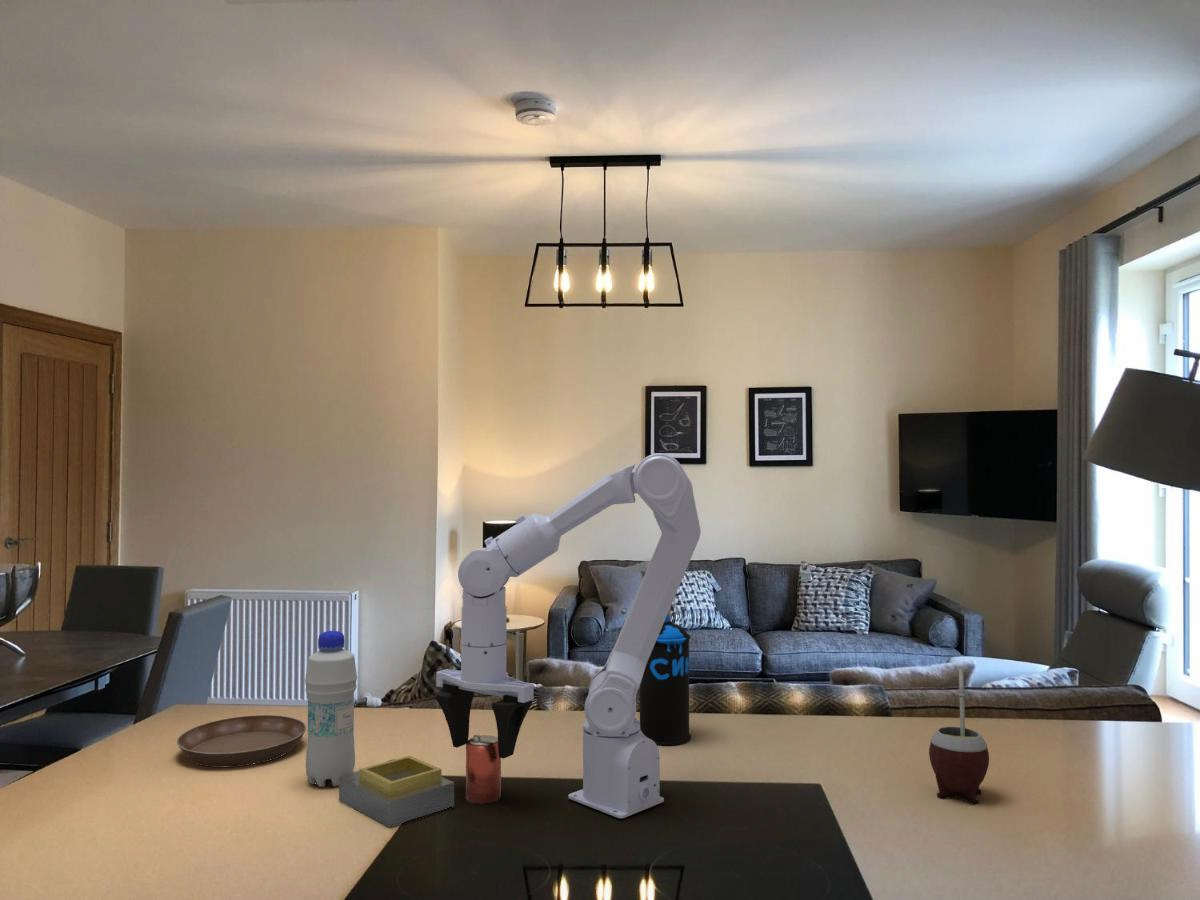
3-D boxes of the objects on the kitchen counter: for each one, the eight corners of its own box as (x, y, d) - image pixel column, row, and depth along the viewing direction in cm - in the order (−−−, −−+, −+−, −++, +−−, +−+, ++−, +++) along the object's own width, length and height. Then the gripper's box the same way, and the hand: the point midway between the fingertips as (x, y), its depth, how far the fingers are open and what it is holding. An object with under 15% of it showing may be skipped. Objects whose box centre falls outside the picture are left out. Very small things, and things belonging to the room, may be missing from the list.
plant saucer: (266, 776, 118) (266, 754, 118) (149, 769, 121) (149, 747, 121) (326, 737, 135) (327, 717, 136) (223, 731, 138) (223, 712, 138)
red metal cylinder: (507, 797, 110) (508, 734, 110) (479, 807, 107) (480, 741, 107) (486, 788, 113) (486, 726, 113) (458, 797, 110) (459, 734, 110)
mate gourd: (953, 808, 106) (952, 685, 107) (914, 786, 114) (913, 671, 114) (1004, 802, 108) (1003, 681, 109) (962, 780, 116) (961, 668, 116)
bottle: (341, 792, 111) (342, 636, 112) (293, 788, 113) (295, 634, 113) (365, 774, 118) (366, 627, 119) (320, 771, 119) (321, 625, 120)
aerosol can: (628, 733, 136) (628, 606, 137) (674, 727, 140) (674, 603, 140) (653, 749, 129) (653, 614, 129) (701, 741, 132) (700, 610, 133)
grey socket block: (454, 806, 106) (454, 770, 107) (389, 828, 100) (389, 788, 100) (394, 779, 116) (395, 745, 116) (332, 796, 110) (333, 761, 110)
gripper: (548, 644, 110) (547, 752, 109) (462, 632, 117) (461, 733, 117) (513, 653, 104) (512, 768, 103) (425, 640, 112) (424, 746, 111)
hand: (482, 750), depth 110 cm, fingers open, 7 cm apart
